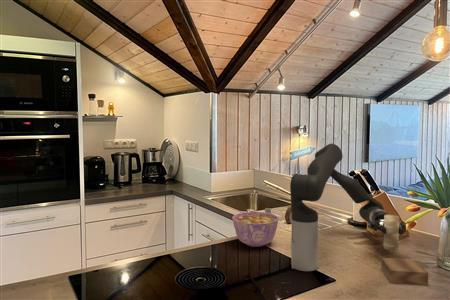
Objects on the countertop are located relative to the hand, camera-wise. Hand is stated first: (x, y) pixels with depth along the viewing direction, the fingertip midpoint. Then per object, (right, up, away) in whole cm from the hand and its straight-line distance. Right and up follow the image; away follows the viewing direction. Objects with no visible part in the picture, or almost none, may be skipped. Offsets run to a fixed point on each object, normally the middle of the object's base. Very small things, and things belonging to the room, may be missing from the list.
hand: (393, 231), depth 126 cm
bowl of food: (-48, -11, +24) cm, 55 cm away
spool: (0, -7, +3) cm, 7 cm away
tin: (-24, -9, +58) cm, 64 cm away
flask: (-40, -10, +46) cm, 62 cm away
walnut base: (-2, -13, -10) cm, 16 cm away
